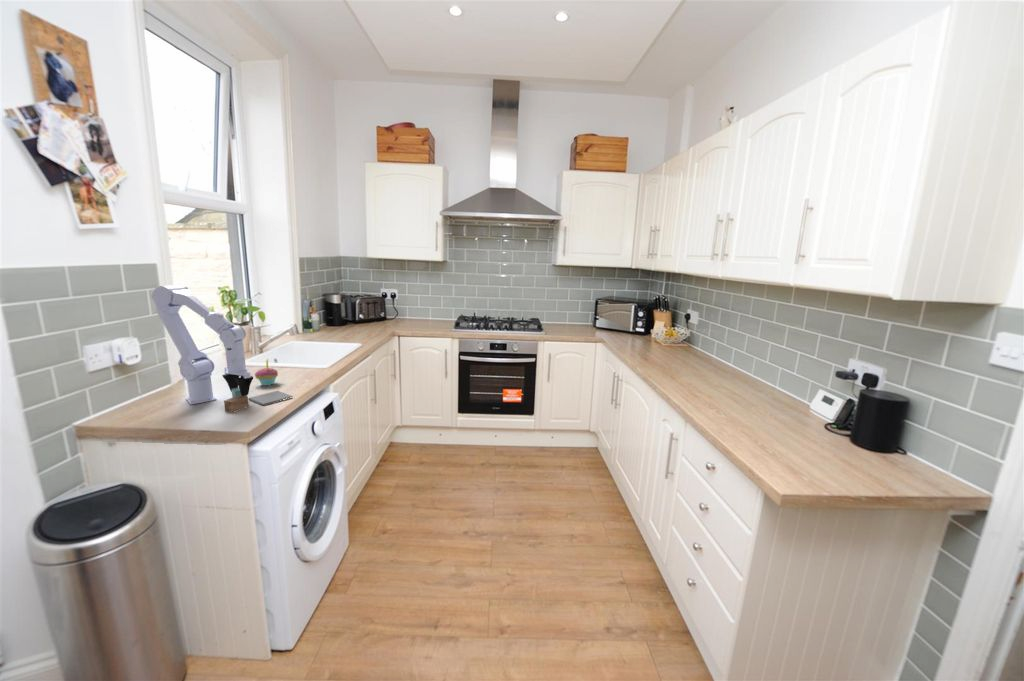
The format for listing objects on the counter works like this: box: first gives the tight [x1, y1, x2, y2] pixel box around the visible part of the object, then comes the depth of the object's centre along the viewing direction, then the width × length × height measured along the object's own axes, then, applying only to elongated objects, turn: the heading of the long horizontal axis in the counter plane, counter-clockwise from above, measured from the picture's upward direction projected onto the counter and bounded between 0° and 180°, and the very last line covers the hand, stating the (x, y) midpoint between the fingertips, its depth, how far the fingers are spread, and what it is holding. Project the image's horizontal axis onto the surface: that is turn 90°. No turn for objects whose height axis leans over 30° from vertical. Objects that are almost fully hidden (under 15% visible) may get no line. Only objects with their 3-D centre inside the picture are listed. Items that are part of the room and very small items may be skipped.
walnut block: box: [223, 395, 250, 413], centre depth 147 cm, size 4×6×4 cm, turn 162°
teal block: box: [231, 387, 248, 398], centre depth 154 cm, size 4×4×5 cm
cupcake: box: [254, 358, 279, 386], centre depth 174 cm, size 9×8×12 cm
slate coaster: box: [248, 390, 293, 406], centre depth 158 cm, size 11×11×1 cm
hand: (239, 393), depth 154 cm, fingers open, 7 cm apart
